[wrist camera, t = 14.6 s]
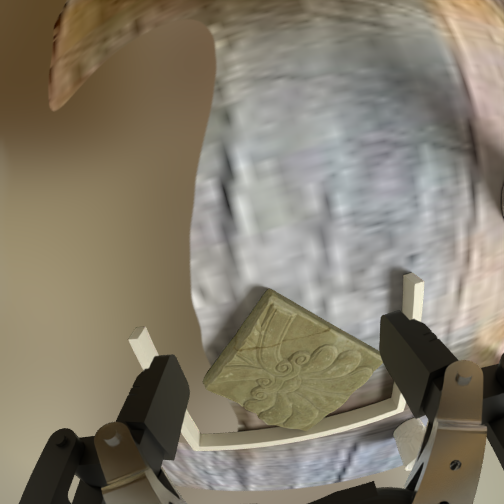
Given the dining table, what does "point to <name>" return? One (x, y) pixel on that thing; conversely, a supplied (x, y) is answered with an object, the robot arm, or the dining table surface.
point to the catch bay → (281, 435)
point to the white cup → (409, 441)
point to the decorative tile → (290, 365)
